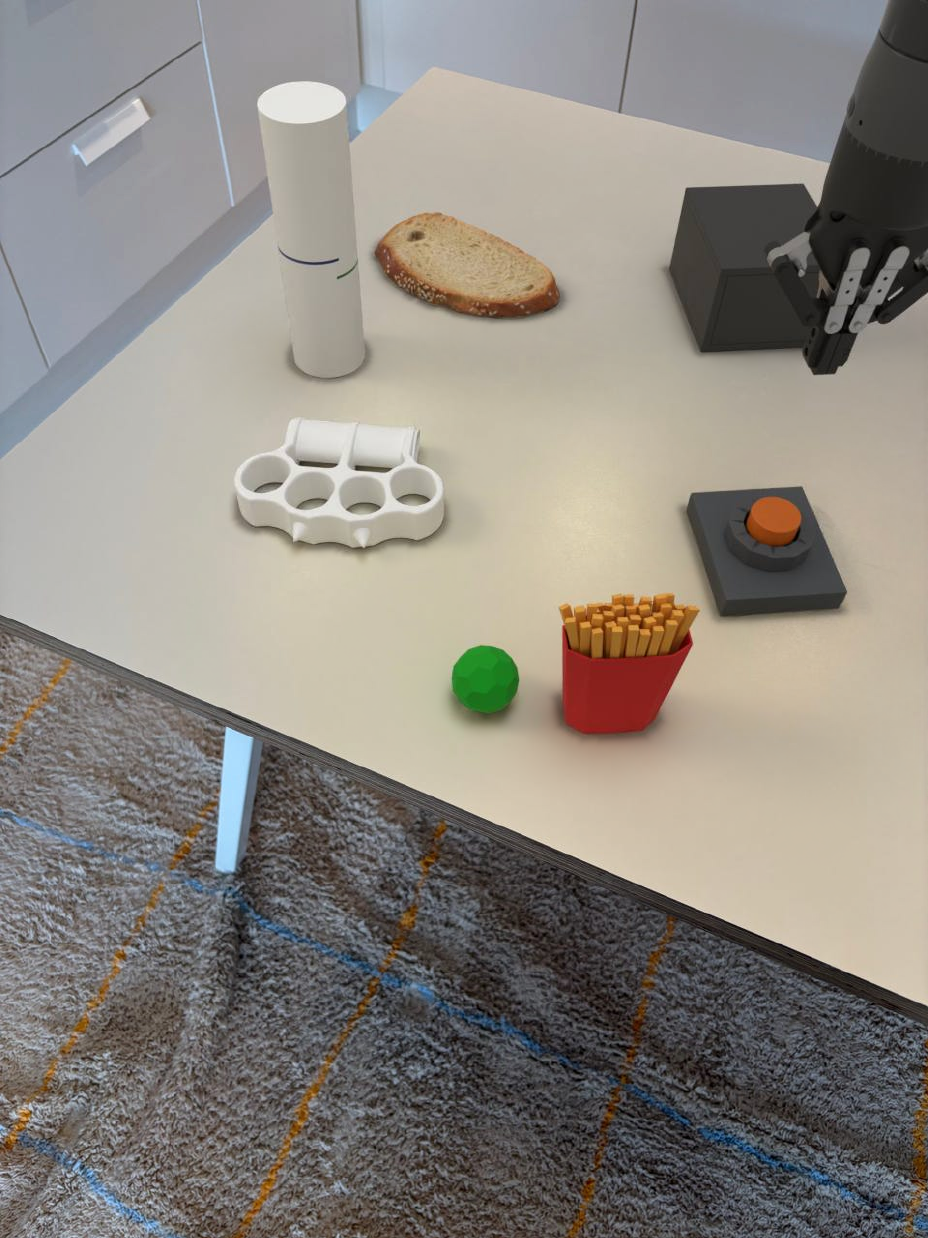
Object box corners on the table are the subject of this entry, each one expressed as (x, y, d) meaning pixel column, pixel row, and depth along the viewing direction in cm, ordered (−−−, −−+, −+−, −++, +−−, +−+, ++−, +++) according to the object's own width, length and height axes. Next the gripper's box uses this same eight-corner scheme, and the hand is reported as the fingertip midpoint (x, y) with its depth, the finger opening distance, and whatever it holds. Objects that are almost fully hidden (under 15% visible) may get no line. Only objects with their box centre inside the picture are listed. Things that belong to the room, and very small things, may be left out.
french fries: (659, 683, 77) (693, 575, 66) (670, 731, 74) (707, 626, 64) (541, 689, 76) (557, 581, 66) (548, 738, 74) (566, 633, 63)
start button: (740, 512, 83) (745, 497, 82) (787, 509, 83) (793, 494, 82) (753, 548, 81) (759, 533, 79) (801, 545, 81) (808, 530, 79)
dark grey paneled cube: (668, 269, 110) (685, 187, 103) (778, 264, 111) (803, 182, 104) (700, 352, 102) (721, 268, 94) (819, 346, 103) (850, 263, 95)
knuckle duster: (454, 448, 92) (436, 568, 83) (262, 432, 93) (224, 549, 84) (454, 420, 90) (436, 541, 81) (257, 404, 90) (217, 522, 81)
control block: (685, 509, 88) (695, 477, 85) (795, 503, 89) (808, 470, 86) (720, 617, 81) (731, 585, 78) (839, 608, 82) (855, 577, 78)
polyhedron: (519, 722, 74) (524, 687, 70) (454, 726, 74) (455, 691, 70) (512, 667, 77) (516, 631, 74) (449, 671, 77) (450, 634, 73)
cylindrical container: (284, 342, 101) (246, 89, 81) (351, 326, 103) (329, 75, 83) (306, 385, 97) (271, 130, 77) (375, 367, 99) (358, 113, 79)
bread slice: (567, 311, 105) (571, 280, 102) (401, 334, 102) (400, 303, 99) (520, 220, 116) (522, 189, 113) (368, 238, 113) (366, 208, 110)
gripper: (822, 159, 55) (743, 406, 68) (1050, 153, 56) (928, 398, 69) (782, 95, 59) (716, 338, 73) (994, 91, 60) (890, 332, 74)
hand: (820, 367), depth 71 cm, fingers closed
